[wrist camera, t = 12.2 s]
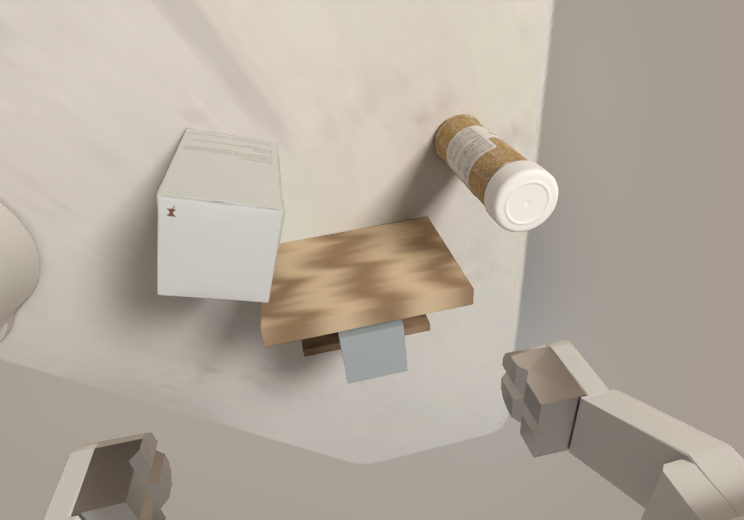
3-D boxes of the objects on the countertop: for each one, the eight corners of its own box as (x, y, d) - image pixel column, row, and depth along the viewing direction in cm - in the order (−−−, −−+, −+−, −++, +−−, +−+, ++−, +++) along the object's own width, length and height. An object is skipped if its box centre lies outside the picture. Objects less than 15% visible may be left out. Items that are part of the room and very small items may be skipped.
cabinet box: (338, 335, 44) (349, 391, 38) (329, 285, 41) (339, 338, 35) (389, 325, 45) (408, 378, 39) (384, 274, 41) (403, 325, 36)
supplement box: (181, 209, 40) (151, 297, 29) (185, 125, 36) (153, 190, 26) (268, 221, 42) (269, 306, 32) (280, 142, 38) (286, 209, 28)
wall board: (280, 316, 48) (284, 408, 38) (261, 247, 43) (260, 331, 33) (430, 286, 50) (471, 367, 40) (427, 216, 45) (473, 288, 35)
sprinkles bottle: (490, 140, 42) (572, 204, 31) (450, 173, 43) (515, 246, 32) (464, 101, 40) (542, 155, 28) (422, 137, 41) (481, 203, 29)
